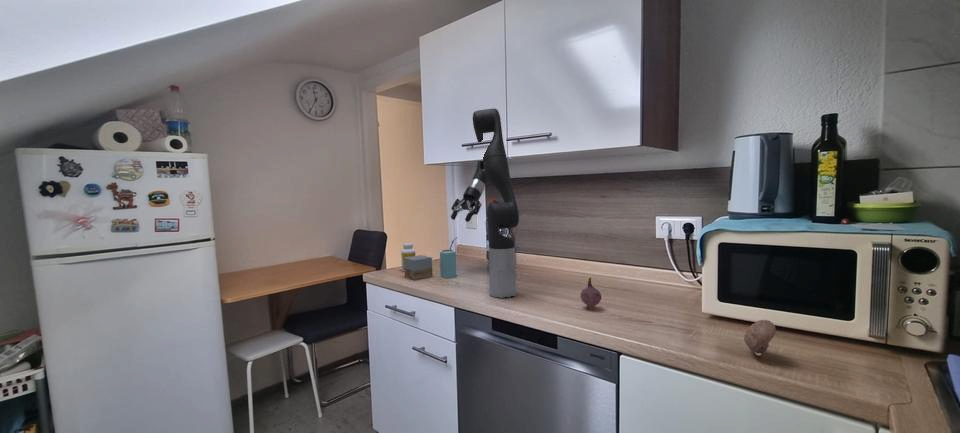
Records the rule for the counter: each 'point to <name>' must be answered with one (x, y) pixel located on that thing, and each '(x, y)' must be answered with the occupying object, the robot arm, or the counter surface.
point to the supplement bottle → (407, 252)
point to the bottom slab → (418, 274)
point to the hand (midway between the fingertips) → (459, 220)
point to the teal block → (448, 264)
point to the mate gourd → (450, 247)
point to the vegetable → (590, 295)
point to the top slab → (417, 262)
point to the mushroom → (759, 335)
